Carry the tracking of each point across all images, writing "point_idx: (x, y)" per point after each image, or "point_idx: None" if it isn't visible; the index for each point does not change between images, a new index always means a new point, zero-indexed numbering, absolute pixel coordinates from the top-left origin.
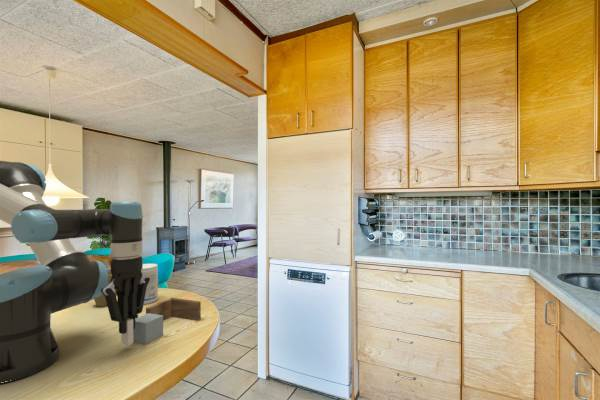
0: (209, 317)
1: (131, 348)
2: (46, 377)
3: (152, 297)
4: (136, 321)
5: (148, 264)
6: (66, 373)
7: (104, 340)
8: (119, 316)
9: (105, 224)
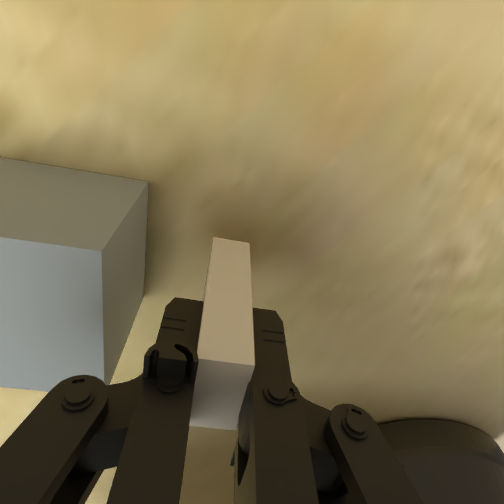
0: None
1: (215, 232)
2: (474, 372)
3: None
4: (101, 351)
5: None
6: (454, 334)
7: None
8: (363, 458)
9: None
